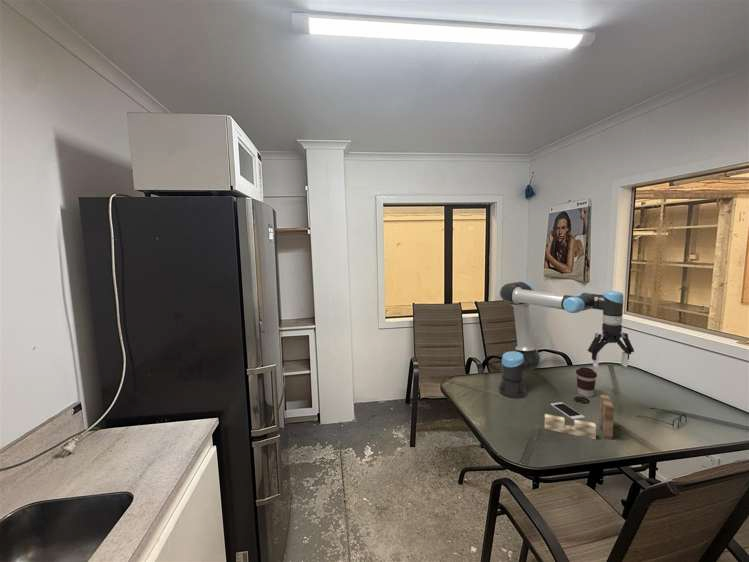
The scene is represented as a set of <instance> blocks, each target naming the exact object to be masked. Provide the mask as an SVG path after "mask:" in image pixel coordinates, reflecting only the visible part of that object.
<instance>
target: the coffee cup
mask: <svg viewBox="0 0 749 562" xmlns="http://www.w3.org/2000/svg"><path fill="white" fill-rule="evenodd" d="M575 374H576V375H577V376H576V385H577V393H578V395H580V396H582V397H586V398H592V397H593V396H594V390H595V388H596V387H595V386H596V380H597V377H598V374H597V372H596V371H595V370H594V369H592V368H590V367H583V366H582V367H579V368H578V369H576V370H575Z"/></svg>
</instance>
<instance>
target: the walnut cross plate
mask: <svg viewBox="0 0 749 562" xmlns="http://www.w3.org/2000/svg"><path fill="white" fill-rule="evenodd" d="M599 399H600V401H599V415H598V416H599V417H598V425H599V428H600V429H601V431H602V432H601V433H602V436H603V439H605V440H611V441H612V440H613V436H614V435H613V433H614V417H615V415H614V414H615V407H614V404H613V403H612V401H611V399H610V396H609V395H605V394H600V398H599Z"/></svg>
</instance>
